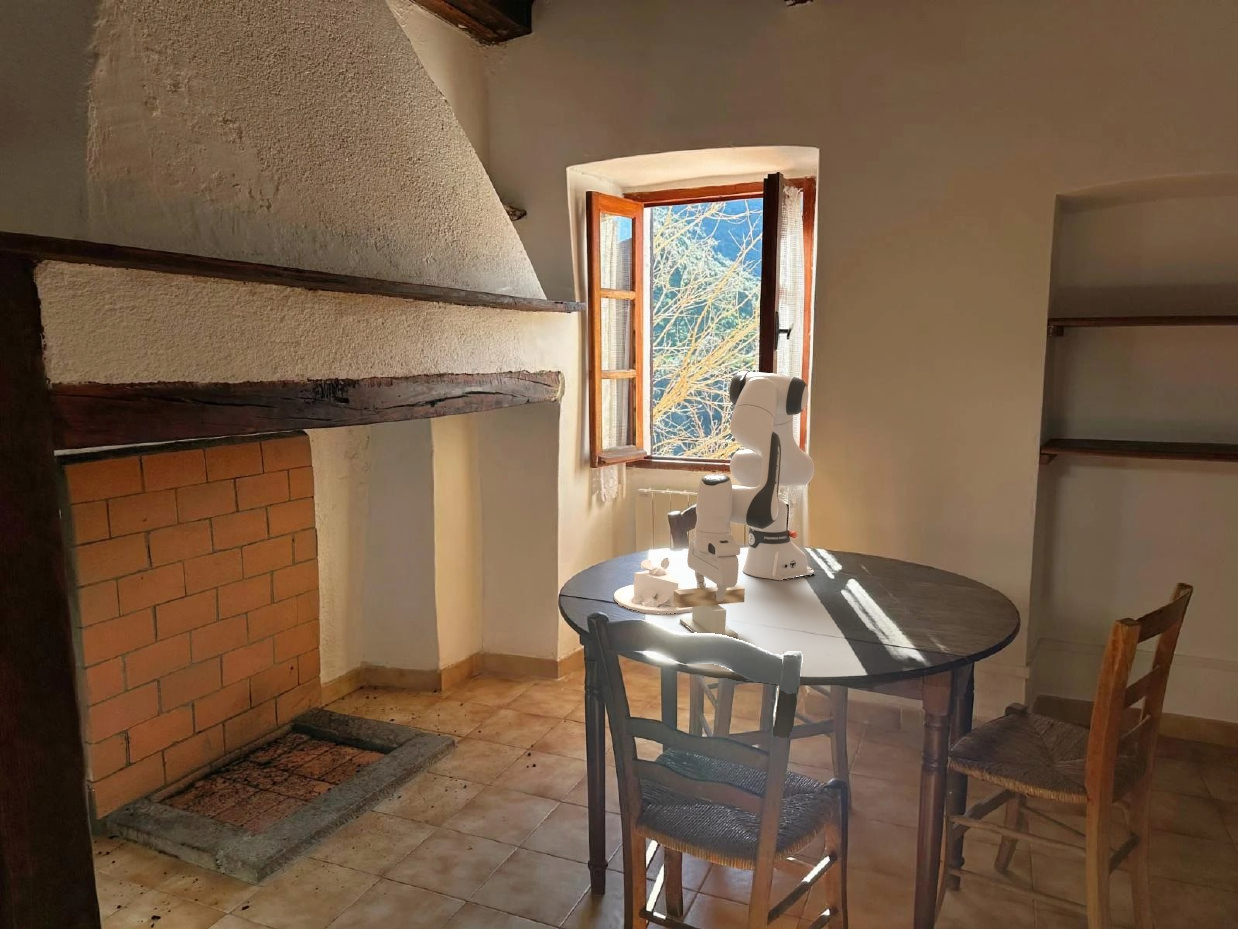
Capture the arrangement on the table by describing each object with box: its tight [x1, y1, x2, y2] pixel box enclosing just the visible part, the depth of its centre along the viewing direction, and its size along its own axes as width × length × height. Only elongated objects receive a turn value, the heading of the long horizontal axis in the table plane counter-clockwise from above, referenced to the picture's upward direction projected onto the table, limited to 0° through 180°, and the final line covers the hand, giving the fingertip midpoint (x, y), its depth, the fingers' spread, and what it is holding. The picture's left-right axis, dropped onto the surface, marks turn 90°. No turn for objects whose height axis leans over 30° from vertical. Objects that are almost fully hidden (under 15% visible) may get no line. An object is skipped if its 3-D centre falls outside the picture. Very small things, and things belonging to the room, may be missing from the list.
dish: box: [613, 557, 693, 615], centre depth 229 cm, size 25×25×11 cm
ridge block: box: [679, 604, 739, 639], centre depth 206 cm, size 9×14×7 cm, turn 21°
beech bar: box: [673, 584, 746, 608], centre depth 205 cm, size 18×4×4 cm, turn 111°
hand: (709, 595), depth 205 cm, fingers open, 8 cm apart
